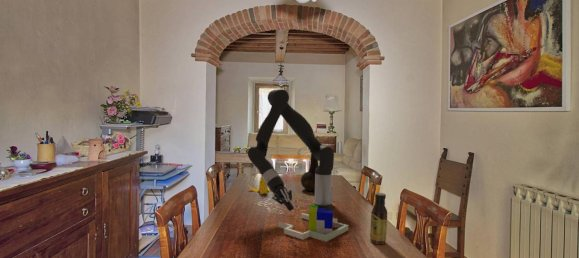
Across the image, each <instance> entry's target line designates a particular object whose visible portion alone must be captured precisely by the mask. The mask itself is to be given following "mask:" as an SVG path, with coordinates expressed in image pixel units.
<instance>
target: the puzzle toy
mask: <svg viewBox="0 0 579 258" xmlns="http://www.w3.org/2000/svg"><path fill="white" fill-rule="evenodd" d="M308 215H309V220H308V224H307V225H308V228H307V231H308V230H310V231H313V232H317V233H320V234H323V235H326V234H328V233H330V232H332V231H334V230H333V228H334V227H333V218H334V206H331V205H326V206H323V205H317V204H310V207H309V210H308Z"/></svg>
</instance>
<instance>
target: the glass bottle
mask: <svg viewBox="0 0 579 258" xmlns="http://www.w3.org/2000/svg"><path fill="white" fill-rule="evenodd" d="M309 153H310V165H309V170H308V171H307V172H304V173H303V174H301V177H300V183H301V185H302V187H303V188H304V189H305V190H306V191H311V192H315V170H316V168H318V167H319V161H318V160H316V159H315V157H314V156H313V155H312V153H311V151H310V150H309Z"/></svg>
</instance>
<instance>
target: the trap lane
mask: <svg viewBox="0 0 579 258" xmlns="http://www.w3.org/2000/svg"><path fill="white" fill-rule="evenodd" d="M300 216H301V218H300V219H304V220H307V221H309V213H301V215H300ZM278 228H281V229H283V234H284V235H288V236H290V237H293V238H297V239H300V240H303V241H304V240H306V239H307V238H313V239H315V240H319V241H322V242H326V243H327V242H328V241H330V240H333V239H335V238H337V237H339V236H340V235H342V234H343V233H345V232H347V231H349V224H345V223H341V222H338V218H336V217H333V228H336V229H335V230H332V232H330V233H328V234H326V235H323V234H320V233H317V232H313V231H310V230H308V229H307V230H306V231H304V232H301V231H298V230H295V225H293V224H289V223H286V222H283V221H278Z"/></svg>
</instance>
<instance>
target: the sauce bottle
mask: <svg viewBox="0 0 579 258" xmlns="http://www.w3.org/2000/svg"><path fill="white" fill-rule="evenodd" d="M374 194H375V195H374V197H375V198H374V199H375V200H374V201H375V202H374V205H373V207H372V210H371V213H370V231H369V240H370V242H371V243H373V244H374V245H384V244H386V240H387V229H388V228H387V227H388V209H387V207H386V198H387V196H386V193H382V192H376V193H374Z"/></svg>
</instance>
